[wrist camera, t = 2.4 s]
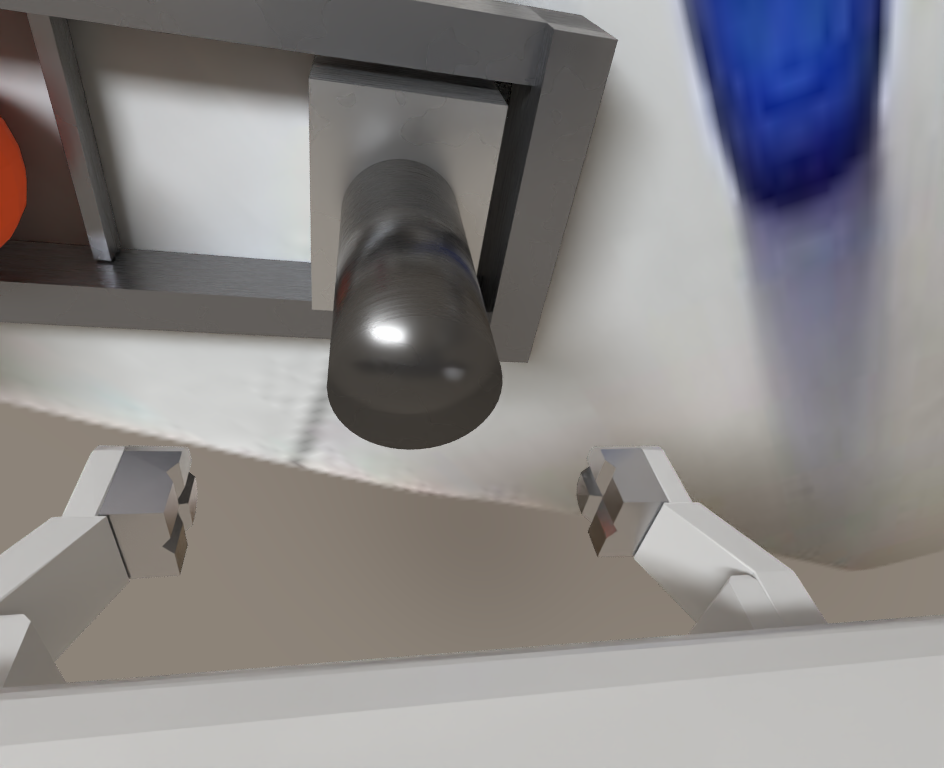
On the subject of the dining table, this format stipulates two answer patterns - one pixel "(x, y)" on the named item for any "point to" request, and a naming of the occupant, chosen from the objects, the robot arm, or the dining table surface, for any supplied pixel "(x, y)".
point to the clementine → (10, 184)
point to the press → (289, 283)
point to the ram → (403, 246)
